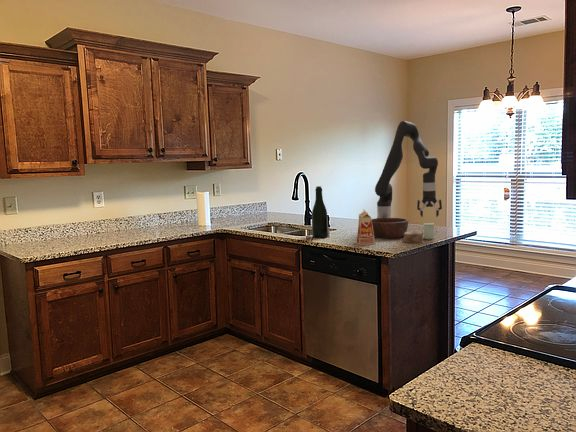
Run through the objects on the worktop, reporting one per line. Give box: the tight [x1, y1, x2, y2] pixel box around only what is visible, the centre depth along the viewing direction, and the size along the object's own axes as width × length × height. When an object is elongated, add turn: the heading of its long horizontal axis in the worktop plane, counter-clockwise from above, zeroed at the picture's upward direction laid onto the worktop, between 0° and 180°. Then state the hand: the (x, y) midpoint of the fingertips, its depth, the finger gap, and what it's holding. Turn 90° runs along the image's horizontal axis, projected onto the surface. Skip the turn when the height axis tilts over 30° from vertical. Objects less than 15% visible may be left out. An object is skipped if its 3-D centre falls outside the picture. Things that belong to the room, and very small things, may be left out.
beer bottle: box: [311, 185, 329, 239], centre depth 311 cm, size 10×10×33 cm
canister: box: [423, 222, 435, 240], centre depth 292 cm, size 6×6×9 cm
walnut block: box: [403, 231, 424, 243], centre depth 285 cm, size 10×10×5 cm
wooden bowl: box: [371, 217, 409, 239], centre depth 306 cm, size 25×25×10 cm
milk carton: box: [355, 208, 375, 246], centre depth 282 cm, size 9×9×20 cm
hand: (429, 216), depth 291 cm, fingers open, 8 cm apart
